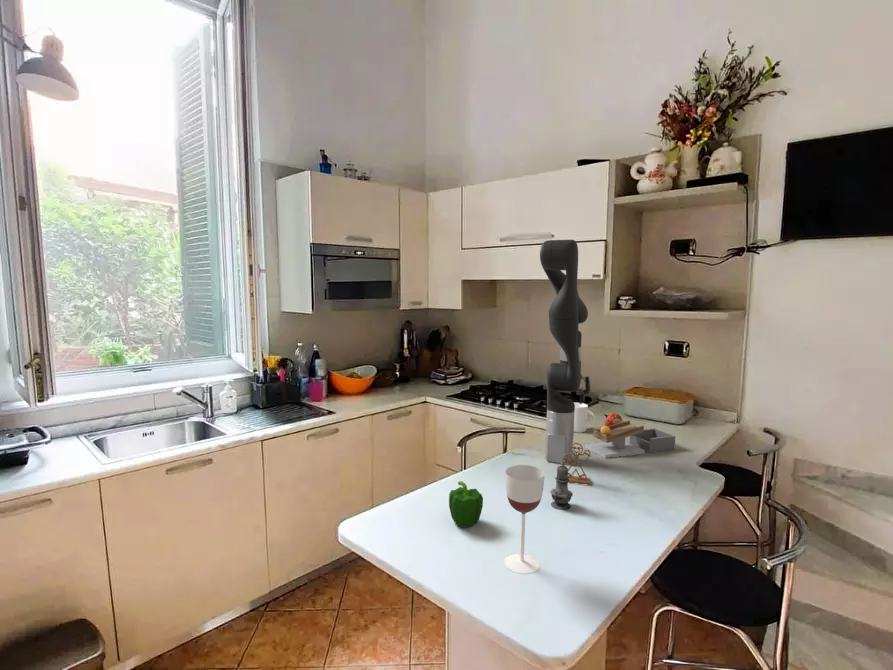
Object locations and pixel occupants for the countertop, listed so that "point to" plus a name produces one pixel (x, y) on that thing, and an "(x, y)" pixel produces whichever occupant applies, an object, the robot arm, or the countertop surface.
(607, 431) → the ball
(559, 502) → the salt shaker
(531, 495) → the wineglass
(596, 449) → the base
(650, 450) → the grey open box
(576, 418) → the mug
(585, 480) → the gingerbread man figurine
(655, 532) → the countertop surface
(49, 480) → the countertop surface
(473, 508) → the bell pepper
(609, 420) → the pomegranate
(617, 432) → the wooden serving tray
